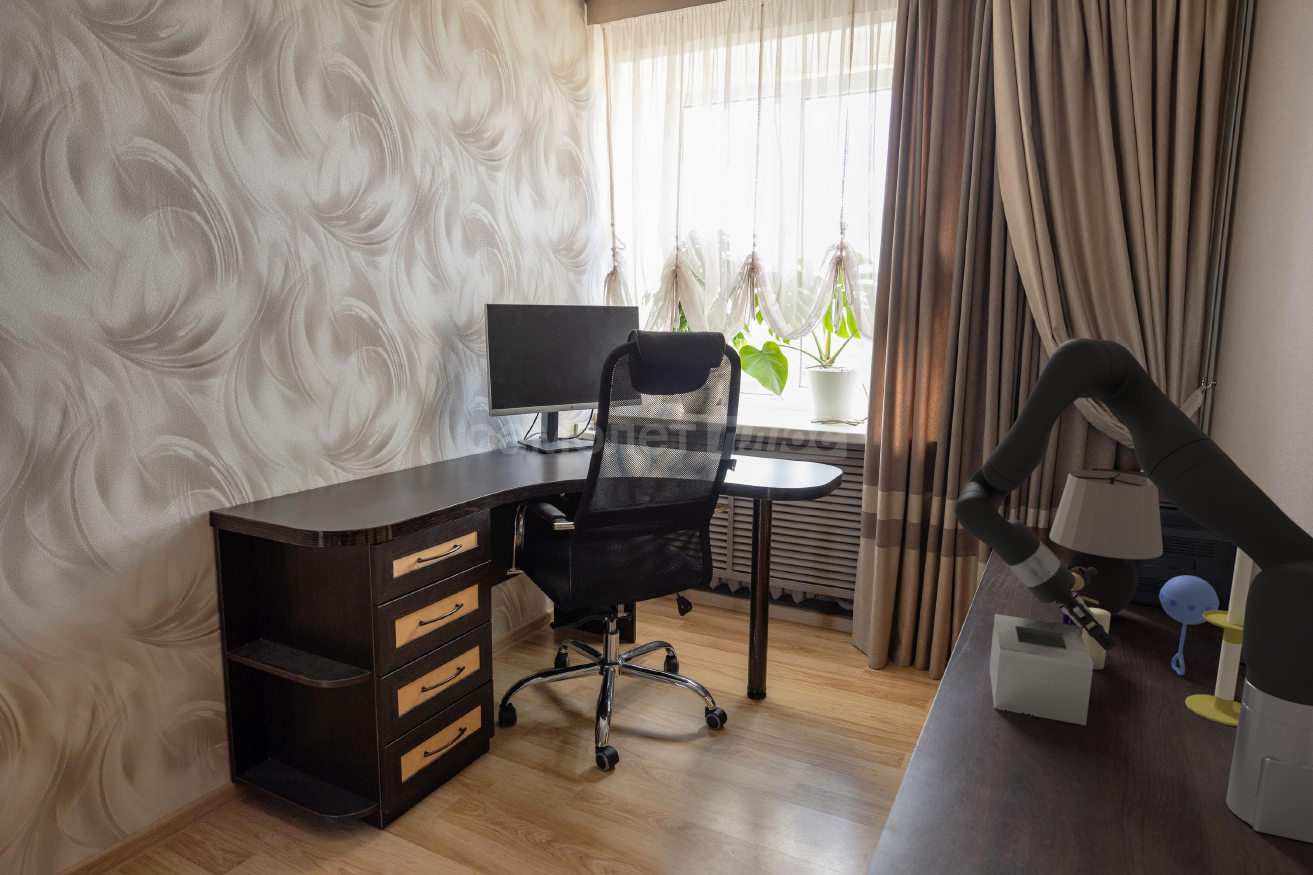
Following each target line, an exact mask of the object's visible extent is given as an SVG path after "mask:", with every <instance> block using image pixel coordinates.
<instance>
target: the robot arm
mask: <svg viewBox="0 0 1313 875" xmlns="http://www.w3.org/2000/svg"><path fill="white" fill-rule="evenodd" d="M1078 399H1095V400H1097V401H1098V402H1101V403H1102V404H1103V405H1104V406H1105V407H1107V408H1108V409H1109V410H1110V411H1111V412H1112V413H1113V414H1114V415H1115V417H1117V418H1118V419H1119V421H1121V422H1122V423H1123V425H1124V426H1125V428H1127V430H1128V432H1129V434H1130V437H1131V440H1132V444H1133V448H1134V449H1133V450H1134V453H1135V455H1136V458H1137V459H1136V460H1137V461H1138V462H1137V463H1138V464H1139V466H1140V468H1141V470H1142V471H1143V472H1144V474H1145V476H1146V478H1149V479H1150V480H1151V481H1152V483H1153V484H1154V485H1155V486H1156V487H1157V488H1158V491H1159V492H1161V494H1162V495H1163V496H1164V497H1165V498H1166V500H1168V502H1169V503H1171V504H1172V505H1173V506H1174V507H1175V508H1176V509H1177V510H1179V511H1180V512H1181V513H1183V514H1184V515H1185V516H1186V517H1188V518H1190V519H1192V520H1193V521H1195V522H1196V523H1198V524H1200V525H1201V526H1203V528H1206V529H1208V530H1210V531H1211V532H1213V533H1215V534H1216V535H1218V536H1220V537H1222V538H1224V540H1226V541H1227V542H1229V543H1231V544H1232V545H1234V546H1236V548H1240V549H1241V550H1242V551H1243V552H1244V553H1245V554H1247V555H1248V556H1249V557H1250V558H1251V559H1252V560H1253V562H1254V564H1256V566H1257V567H1258V568H1259V569H1260V571H1259V572H1258V573H1257V574H1256V575H1255V576H1254V578H1253V579H1252V581H1251V583H1250V584H1249V590H1248V595H1247V600H1246V607H1245V617H1244V627H1243V638H1242V647H1241V653H1242V658H1243V660H1244V662H1245V667H1246V670H1245V675H1244V676H1245V677H1244V684H1243V690H1242V697H1241V703H1240V704H1241V708H1240V714H1239V721H1238V727H1237V726H1236V734H1235V741H1234V748H1233V753H1232V761H1231V765H1230V772H1229V779H1228V787H1227V793H1226V801H1225V802H1226V805H1227V807H1228V809H1229V810H1230V811H1231V812H1232V813H1233V814H1234V815H1236V816H1237V817H1238V818H1239V819H1240V820H1242V821H1244V822H1246V823H1247V824H1249V825H1250V826H1251V827H1252V829H1253V831H1255V832H1257V833H1264V834H1267V835H1268V834H1269V835H1272V836H1278V837H1282V838H1287V839H1293V840H1297V841H1301V842H1307V843H1311V844H1313V536H1312V535H1311V534H1309V533H1308V532H1307V531H1306V530H1305V529H1304V528H1302V527H1301V526H1300V525H1298V524H1297V523H1296V522H1295V521H1294V520H1293V519H1292V518H1290V517H1289V516H1288V515H1287V513H1285V512H1284V511H1283V510H1282V509H1281V507H1279V506H1278V505H1277V504H1276V503H1275V502H1274V500H1273V499H1272V498H1271V497H1270V496H1268V494H1266V493H1265V491H1263V490H1262V488H1260V487H1259V486H1258V485H1257V483H1255V481H1253V480H1252V479H1251V478H1250V477H1249V476H1248V475H1247V474H1246V473H1245V472H1244V471H1243V469H1241V467H1239V466H1238V464H1237V463H1235V462H1234V460H1233V459H1232V458H1231V457H1230V456H1229V455H1228V454H1227V453H1226V452H1225V451H1224V450H1223V449H1222V448H1221V447H1220V446H1219V445H1218V444H1217V443H1216V442H1215V441H1214V440H1213V439H1212V438H1211V437H1210V436H1209V435H1208V434H1207V433H1205V432H1204V431H1203V430H1202V429H1201V427H1199V426H1198V425H1197V424H1196V423H1195V422H1194V421H1193V420H1192V419H1191V418H1190V417H1188V415H1187V414H1186V413H1185V412H1184V411H1183V410H1182V409H1180V407H1178V406H1177V405H1176V404H1175V403H1174V402H1173V400H1171V399H1170V398H1169V397H1168V396H1167V395H1166V394H1165V393H1164V392H1163V390H1162V389H1161V388H1160V387H1159V386H1158V385H1157V383H1156V382H1155V381H1154V380H1153V379H1152V377H1151V375H1149V373H1148V372H1147V371H1146V369H1144V367H1143V366H1142V365H1141V363H1140V362H1139V361H1138V359H1137V358H1136V357H1135V355H1133V354H1132V352H1130V351H1129V349H1128V348H1127V347H1125V346H1123V345H1122V344H1120V343H1119V342H1116V341H1113V340H1109V339H1099V338H1098V339H1097V338H1085V337H1084V338H1083V337H1079V338H1078V337H1077V338H1071V339H1069V340H1066V341H1064V342H1062V343H1061V344H1059V346H1058V347H1057V348H1056V349H1055V350H1054V351H1053V353H1052V354H1051V356H1050V358H1049V359H1048V360H1047V363H1046V364H1045V366H1044V368H1043V369H1042V371H1041V373H1040V375H1039V377H1038V379H1037V380H1036V383H1035V385H1034V386H1033V388H1032V390H1031V392H1030V393H1029V396H1028V398H1027V400H1026V401H1025V403H1024V406H1023V407H1022V409H1021V410H1020V413H1019V415H1018V417H1017V418H1016V420H1015V421H1014V423H1013V425H1012V426H1011V427H1010V429H1009V430H1008V432H1007V434H1006V435H1005V436H1004V437H1003V439H1002V440H1001V441H1000V443H999V444H998V445H997V446H996V447H995V448H994V449H993V451H992V452H991V454H990V455H989V456H988V457H987V460H986V461H985V462H984V464H983V465H982V466H981V467H979V469H977V471H976V472H974V473H973V474H972V476H970V478H969V479H968V480H967V482H966V483H965V484H964V486H962V489H961V491H960V494H959V496H958V498H957V500H956V502H955V506H954V514H955V517H956V519H957V521H958V523H959V524H960V525H961V527H962V528H963V529H964V530H965V531H966V532H968V533H969V534H971V535H972V536H974V537H975V538H976V539H978V540H979V541H981V542H982V543H983V544H985V545H986V546H988V547H989V548H992V549H993V550H994V551H995V552H996V554H997V555H998V556H999V557H1000V559H1002V560H1003V561H1004V562H1005V563H1006V565H1007V566H1008V567H1009V568H1010V569H1011V572H1012V573H1013V574H1014V575H1015V576H1016V578H1017V579H1018V580H1020V582H1021V583H1022V584H1023V585H1024V586H1025V587H1026V588H1027V589H1028V590H1029V591H1030V593H1031V594H1032V595H1033V596H1034V597H1035V598H1036V599H1037V600H1038V601H1039V602H1040V603H1042V604H1046V605H1047V604H1053V603H1055V605H1056V606H1057V607H1058V608H1059V609H1060V610H1061V611H1062V613H1063V612H1064V613H1065V614H1066V615H1068V616H1069V617H1070V618H1071V619H1072V620H1073V621H1074V622H1075V623H1076V626H1078V627H1082V629H1083V628H1084V629H1085V630H1086V631H1087V632H1088V635H1089V636H1090V637H1091V636H1092V638H1094V639H1095V640H1096V641H1097V642H1098V643H1099V644H1100V645H1101V646H1102V647H1103V648H1104V650H1106V652H1107V651H1109V650H1111V649H1112V648H1114V647H1115V646H1116V645H1117V644H1116V641H1115V640H1114V639H1113V638H1112V637H1111V636H1110V635H1109V633H1108V634H1107V633H1106V632H1105V629H1104V628H1103V626H1102V625H1101V624H1099V623H1098V622H1097V621H1096V620H1095V619H1094V614H1093V612H1092V611H1091V610H1090V609H1089V608H1088V607H1087V606H1086V605H1085V604H1084V601H1083V600H1082V599H1081V597H1080V596H1079V595H1078V594H1076V592H1075V591H1074V590H1073V589H1072V588H1073V587H1074V585H1075V582H1076V579H1075V576H1074V575H1073V574H1072V573H1071V572H1070V571H1069V570H1068V568H1067V567H1066V564H1064V563H1063V562H1062V561H1061V559H1059V558H1058V556H1057V555H1056V554H1055V553H1054V552H1053V551H1052V550H1051V549H1050V548H1049V547H1048V546H1047V545H1046V544H1044V543H1043V542H1042V541H1041V540H1040V539H1039V538H1038V537H1037V536H1036V534H1034V533H1033V532H1032V530H1031V529H1030V528H1028V526H1026V524H1025V523H1024V522H1022V521H1021V520H1019V519H1017V518H1012V519H1011V518H1010V519H1006V518H1004V517H1003V515H1001V514H1000V512H999V510H1000V507H1001V505H1002V504H1003V502H1004V500H1005V499H1006V497H1007V496H1008V495H1009V494H1010V492H1014V491H1016V490H1017V489H1019V488H1020V487H1021V486H1022V485H1023V484H1024V483H1025V481H1027V479H1028V478H1029V477H1030V476H1031V475H1032V473H1033V472H1035V470H1036V469H1037V467H1039V465H1040V463H1041V462H1042V460H1043V459H1044V458H1045V455H1046V453H1047V451H1048V448H1049V443H1050V438H1051V434H1052V432H1053V428H1054V427H1055V424H1056V422H1057V420H1058V419H1059V417H1060V416H1061V415H1062V414H1063V413H1064V412H1065V411H1066V410H1067V408H1069V407H1070V406H1071V405H1072V404H1073V403H1074V402H1076V401H1077V400H1078ZM1091 622H1094V623H1095V625H1094V626H1092V627H1091V628H1090V629H1088V628H1087V625H1088V624H1089V623H1091Z"/></svg>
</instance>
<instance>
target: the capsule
mask: <svg viewBox="0 0 1313 875" xmlns="http://www.w3.org/2000/svg"><path fill="white" fill-rule="evenodd" d="M1089 609H1090V610H1091V611H1092V612H1093V614H1094V619H1095V620H1096V621H1097V622H1098V623H1099V624H1101V625H1102V626H1103V628H1104V629H1105V632H1106V633H1107V634H1108V635H1109V630H1110V623H1111V622H1110V621H1111V617H1110V616H1111V614H1110V613H1109V612H1108V611H1105V610H1102V609H1098V608H1089ZM1094 625H1095V623H1094V622H1091V623H1089V624H1088V625H1087V628H1088V629H1090V628H1091V627H1092V626H1094ZM1081 636H1082V638H1083V641H1084V643H1085V645H1086V648H1087V650H1088V653H1089V655H1090V657H1091V660H1092V662H1093V670H1102V669H1104V668H1105V662H1106V656H1107V655H1106V653H1107V651H1106V650H1104V648H1103V647H1102V646H1101V645H1100V644H1099V643H1098V642H1097V641H1096V640H1095V639H1094V638H1092V636H1091V637H1090V636H1089V635H1088V632H1087V631H1086V630H1085V629H1084V628H1083V627H1082V633H1081Z"/></svg>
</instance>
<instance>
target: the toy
mask: <svg viewBox="0 0 1313 875" xmlns="http://www.w3.org/2000/svg"><path fill="white" fill-rule="evenodd" d="M1070 568H1072V569H1071V570H1070V572H1071V573H1072V574H1073V575H1074V576H1075V579H1076V582H1075V585H1074V587H1073V588H1072V589H1073V590H1074V591H1075V590H1080V589H1082V588H1083V587H1085V586H1087V585H1088V584H1089V583H1090V581H1091V576H1092V577H1093V576H1096V575H1097V570H1096V569H1095V568H1093V567H1089V568H1088V569H1087V570H1086V569H1085V568H1082V567H1075V566H1074V565H1071V566H1069V567H1068V570H1069V569H1070ZM1075 592H1076V591H1075ZM1076 594H1078V595H1079V596H1080V597H1081V599H1084V600H1087V601H1090V602H1093V603H1095V604H1099V602H1098V601H1096V600H1093V599H1090V598H1087V597H1084V596H1082V595H1081V594H1080V593H1078V592H1076ZM1061 624H1067V625H1074V626H1077V624H1076V623H1075V622H1074V621H1073V620H1072V619H1071V618H1070V617H1069V616H1068V615H1066V614H1065V613H1064V612H1063V611H1062V623H1061Z"/></svg>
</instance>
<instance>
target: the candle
mask: <svg viewBox="0 0 1313 875" xmlns="http://www.w3.org/2000/svg"><path fill="white" fill-rule="evenodd" d="M1236 548H1237V549H1236V556H1235V562H1234V570H1233V577H1232V583H1231V590H1230V596H1229V598H1230V599H1229V604H1228V610H1219V609H1218V610H1210V611H1206V612H1204V613H1203V618H1204V619H1205V620H1206V622H1209V623H1210V624H1212V625H1214V626H1217V627H1220V628H1222V629H1223V635H1222V642H1221V650H1220V655H1219V663H1218V664H1219V665H1218V669H1217V677H1216V684H1215V690H1214V695H1210V694H1192V695H1189V696H1187V697H1186V699H1185V701H1184V703H1185V705H1186V707H1187V708H1188V709H1189V710H1191V711H1192V712H1194V713H1195V714H1196V715H1198V716H1200V717H1202V718H1204V719H1207V720H1209V721H1212V722H1215V723H1219V724H1222V725H1225V726H1231V727H1236V728H1237V727H1238V721H1239V714H1240V708H1241V703H1240V702H1238V701H1235V700H1234V699H1235V692H1236V686H1237V681H1238V673H1239V666H1240V659H1241V653H1242V638H1243V627H1244V617H1245V607H1246V600H1247V595H1248V591H1249V588H1250V584H1251V583H1250V581H1251V577H1252V576H1251V575H1252V570H1253V562H1254V561H1253V560H1252V559H1251V558H1250V557H1249V556H1248V555H1247V554H1245V553H1244V552H1243V551H1242V550H1241V549H1240V548H1238V547H1236Z"/></svg>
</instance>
